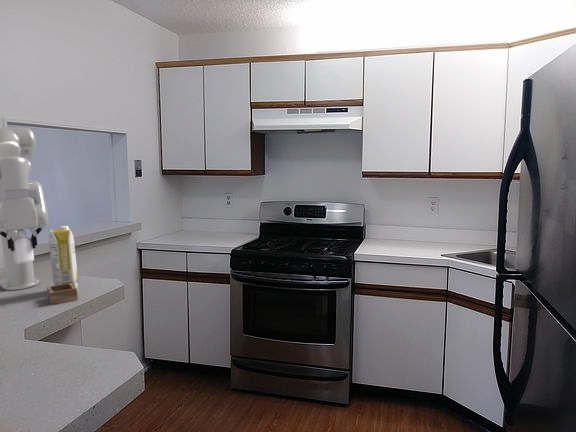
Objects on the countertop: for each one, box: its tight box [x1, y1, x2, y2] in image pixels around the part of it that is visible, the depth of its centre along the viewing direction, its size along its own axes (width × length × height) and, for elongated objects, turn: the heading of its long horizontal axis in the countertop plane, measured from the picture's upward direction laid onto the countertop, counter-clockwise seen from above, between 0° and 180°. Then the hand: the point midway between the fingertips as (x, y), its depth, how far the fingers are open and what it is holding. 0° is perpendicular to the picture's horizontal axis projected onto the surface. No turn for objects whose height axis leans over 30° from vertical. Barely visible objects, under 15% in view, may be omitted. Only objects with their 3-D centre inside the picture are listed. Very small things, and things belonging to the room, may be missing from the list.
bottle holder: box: [46, 283, 79, 306], centre depth 160 cm, size 10×8×4 cm
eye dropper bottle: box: [13, 229, 35, 264], centre depth 153 cm, size 4×6×12 cm
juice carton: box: [48, 225, 79, 289], centre depth 169 cm, size 9×8×24 cm
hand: (23, 248), depth 153 cm, fingers closed on eye dropper bottle, 5 cm apart
